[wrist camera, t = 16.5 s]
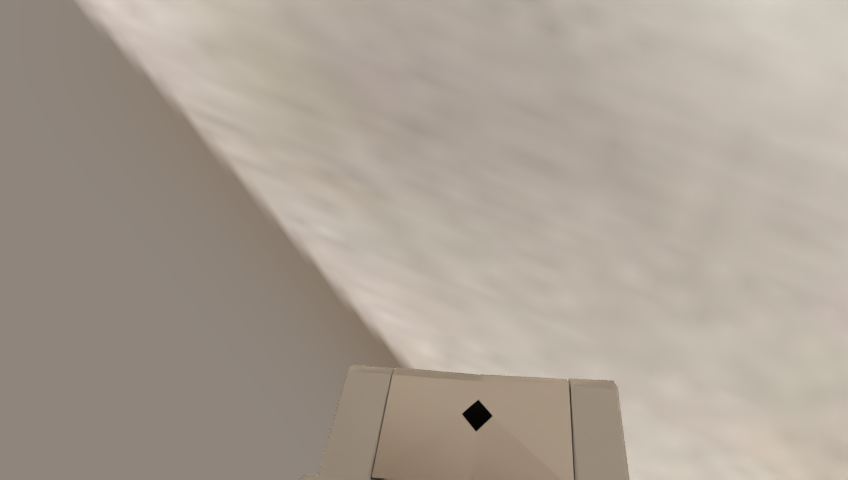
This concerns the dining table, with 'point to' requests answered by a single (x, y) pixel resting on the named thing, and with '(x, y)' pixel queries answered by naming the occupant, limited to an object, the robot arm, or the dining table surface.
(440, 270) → the dining table surface
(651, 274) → the dining table surface
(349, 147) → the dining table surface
